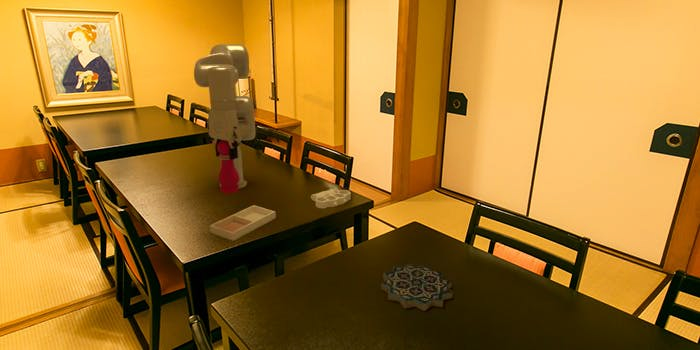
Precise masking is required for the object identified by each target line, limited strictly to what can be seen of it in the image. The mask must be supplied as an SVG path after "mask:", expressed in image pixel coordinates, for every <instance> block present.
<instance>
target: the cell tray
mask: <svg viewBox="0 0 700 350" xmlns="http://www.w3.org/2000/svg"><path fill="white" fill-rule="evenodd" d="M276 217H277V214H276V211H275V210H271V209H267V208H264V207H261V206H259V205H251V206H249V207H247V208H244V209H243V210H239V211H238V212H236V213H234V214H231V215H230V216H227V217H225V218H223V219H221V220H218V221H216V222H214V223H212V224H210V225H209V233H210V234H212V235H215V236H218V237H221V238H223V239H226V240H229V241H232V242H234V241H237V240H238V239H241V238H242V237H244V236H246V235H248V234H249V233H252V232H253V231H255V230H257V229H260V227H262V226H264V225H266V224H268V223H270V222H272V221H274V220H275V219H276Z"/></svg>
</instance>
